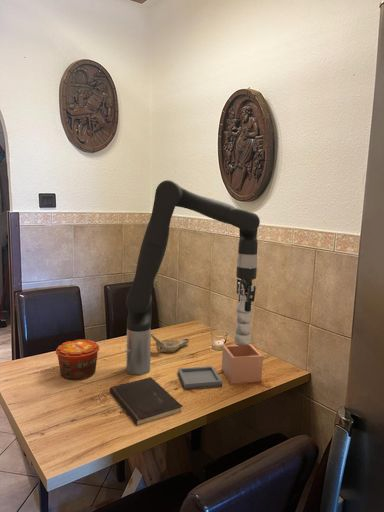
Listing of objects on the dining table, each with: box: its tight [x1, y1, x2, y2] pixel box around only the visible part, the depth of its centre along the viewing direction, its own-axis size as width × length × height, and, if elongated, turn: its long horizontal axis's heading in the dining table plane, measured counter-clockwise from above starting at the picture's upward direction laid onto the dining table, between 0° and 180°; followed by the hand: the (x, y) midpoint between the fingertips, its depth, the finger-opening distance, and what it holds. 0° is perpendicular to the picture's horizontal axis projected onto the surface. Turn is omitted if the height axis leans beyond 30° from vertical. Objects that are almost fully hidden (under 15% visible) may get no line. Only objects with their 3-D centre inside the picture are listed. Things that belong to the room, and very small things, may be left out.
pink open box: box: [221, 343, 264, 385], centre depth 146 cm, size 12×12×10 cm
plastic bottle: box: [233, 294, 253, 346], centre depth 143 cm, size 6×7×20 cm
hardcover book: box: [109, 376, 183, 426], centre depth 125 cm, size 16×23×2 cm
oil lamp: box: [151, 333, 190, 354], centre depth 169 cm, size 9×21×10 cm, turn 130°
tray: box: [177, 365, 223, 390], centre depth 142 cm, size 14×13×2 cm
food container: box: [55, 339, 100, 381], centre depth 144 cm, size 16×16×11 cm
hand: (244, 308), depth 143 cm, fingers closed on plastic bottle, 6 cm apart
